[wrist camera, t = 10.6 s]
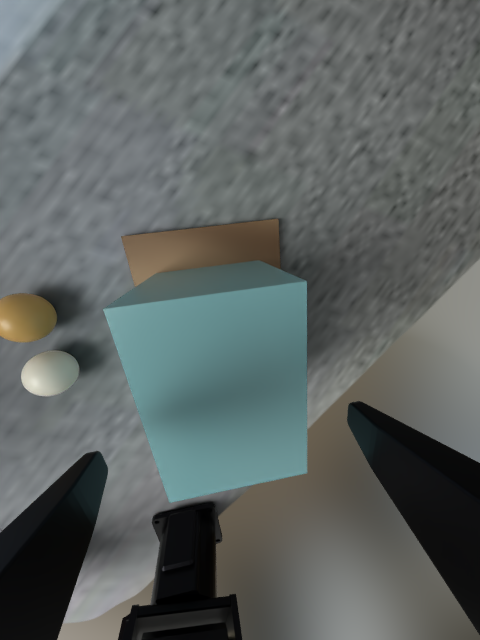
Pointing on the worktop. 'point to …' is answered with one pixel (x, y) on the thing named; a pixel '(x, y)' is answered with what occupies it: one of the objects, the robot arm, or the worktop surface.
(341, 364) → the worktop surface
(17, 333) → the amber egg
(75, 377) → the white egg
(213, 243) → the walnut board
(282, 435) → the light blue block
